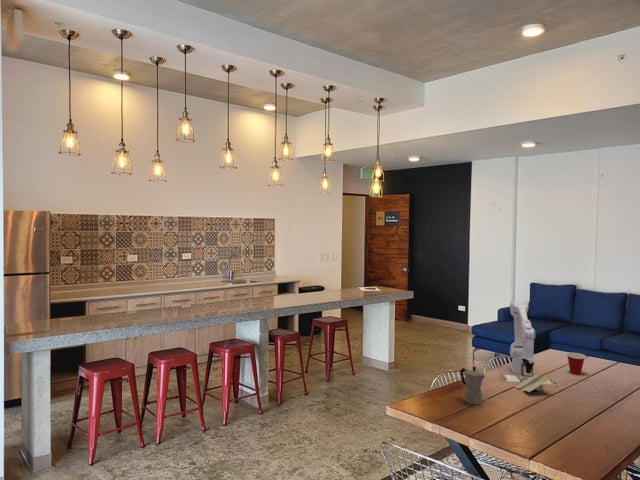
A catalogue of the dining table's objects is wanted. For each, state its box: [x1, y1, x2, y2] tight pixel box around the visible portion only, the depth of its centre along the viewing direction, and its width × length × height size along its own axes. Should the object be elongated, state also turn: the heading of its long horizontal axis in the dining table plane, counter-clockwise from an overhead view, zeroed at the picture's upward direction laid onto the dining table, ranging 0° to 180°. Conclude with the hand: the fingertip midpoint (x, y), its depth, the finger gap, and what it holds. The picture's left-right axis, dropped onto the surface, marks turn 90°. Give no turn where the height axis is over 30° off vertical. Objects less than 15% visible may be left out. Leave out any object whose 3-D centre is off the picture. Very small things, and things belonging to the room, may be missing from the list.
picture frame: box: [520, 363, 534, 377], centre depth 285 cm, size 4×6×7 cm, turn 79°
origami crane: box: [514, 373, 551, 393], centre depth 267 cm, size 16×9×15 cm
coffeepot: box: [459, 366, 486, 405], centre depth 250 cm, size 15×9×18 cm, turn 33°
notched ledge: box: [499, 371, 557, 387], centre depth 285 cm, size 12×28×2 cm, turn 79°
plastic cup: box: [566, 352, 587, 376], centre depth 302 cm, size 11×11×12 cm
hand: (527, 372), depth 285 cm, fingers closed on picture frame, 4 cm apart
